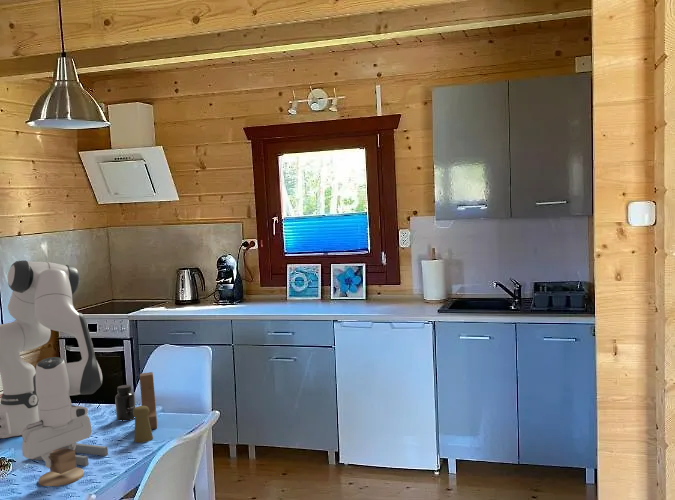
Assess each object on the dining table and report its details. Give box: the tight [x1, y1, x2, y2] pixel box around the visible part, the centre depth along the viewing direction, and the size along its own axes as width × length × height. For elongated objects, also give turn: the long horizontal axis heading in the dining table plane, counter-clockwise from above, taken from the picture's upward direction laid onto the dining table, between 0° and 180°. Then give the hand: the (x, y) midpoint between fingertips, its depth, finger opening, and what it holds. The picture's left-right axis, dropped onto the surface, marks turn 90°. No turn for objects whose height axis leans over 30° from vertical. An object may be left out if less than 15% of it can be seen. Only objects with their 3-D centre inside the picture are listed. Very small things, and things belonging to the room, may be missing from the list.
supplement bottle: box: [114, 384, 136, 422], centre depth 248 cm, size 7×7×12 cm
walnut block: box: [49, 448, 77, 474], centre depth 194 cm, size 5×5×5 cm
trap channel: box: [33, 442, 109, 467], centre depth 212 cm, size 24×9×2 cm, turn 66°
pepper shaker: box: [133, 405, 154, 444], centre depth 224 cm, size 6×6×11 cm
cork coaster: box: [38, 466, 85, 488], centre depth 195 cm, size 12×12×1 cm
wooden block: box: [139, 371, 158, 430], centre depth 237 cm, size 9×4×18 cm, turn 15°
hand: (60, 462), depth 195 cm, fingers closed on walnut block, 5 cm apart
